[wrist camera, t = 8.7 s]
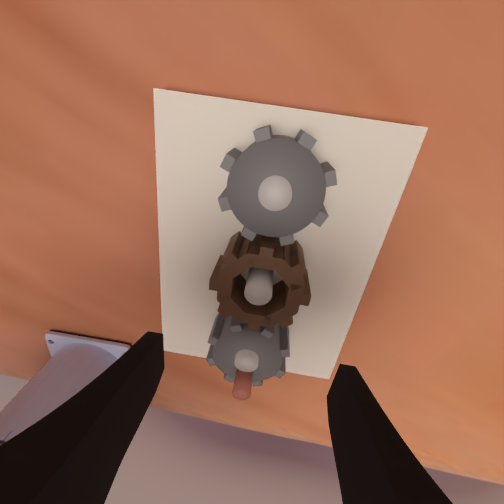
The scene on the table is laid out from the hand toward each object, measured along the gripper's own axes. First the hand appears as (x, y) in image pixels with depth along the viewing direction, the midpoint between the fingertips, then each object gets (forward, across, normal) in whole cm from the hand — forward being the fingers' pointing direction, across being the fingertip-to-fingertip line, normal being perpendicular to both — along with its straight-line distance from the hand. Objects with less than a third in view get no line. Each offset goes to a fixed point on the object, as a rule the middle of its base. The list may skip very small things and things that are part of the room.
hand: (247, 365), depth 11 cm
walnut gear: (+8, 0, 0) cm, 8 cm away
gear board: (+9, 0, 0) cm, 9 cm away
